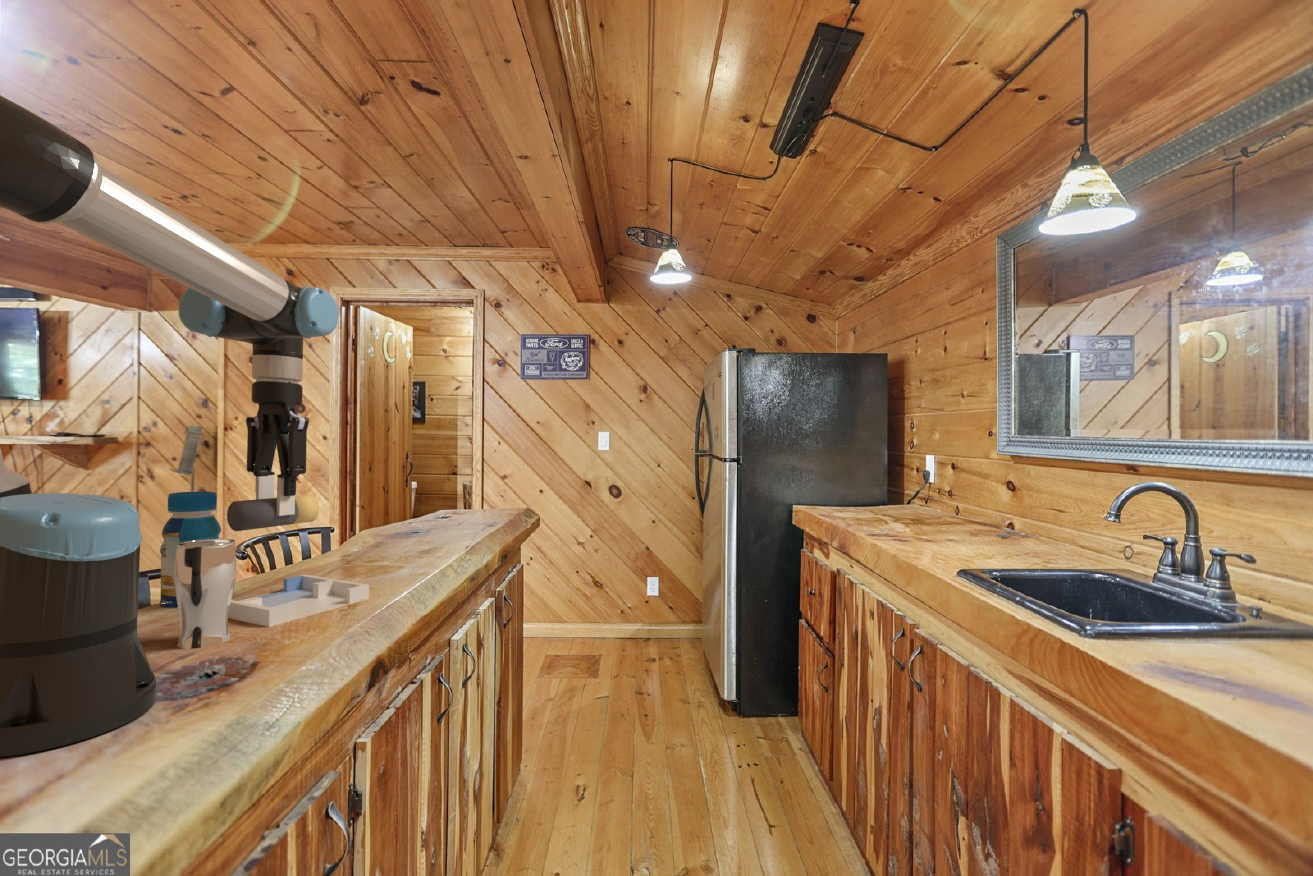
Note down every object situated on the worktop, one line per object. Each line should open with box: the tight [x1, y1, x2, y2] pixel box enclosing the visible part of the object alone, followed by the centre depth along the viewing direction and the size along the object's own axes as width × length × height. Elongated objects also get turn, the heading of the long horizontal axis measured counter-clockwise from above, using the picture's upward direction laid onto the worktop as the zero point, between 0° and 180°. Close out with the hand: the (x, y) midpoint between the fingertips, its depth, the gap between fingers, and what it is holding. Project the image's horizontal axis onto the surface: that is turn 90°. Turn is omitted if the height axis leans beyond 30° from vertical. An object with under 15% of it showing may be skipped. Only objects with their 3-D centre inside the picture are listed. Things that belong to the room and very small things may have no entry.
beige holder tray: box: [228, 574, 370, 628], centre depth 101 cm, size 18×18×4 cm
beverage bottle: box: [159, 490, 222, 609], centre depth 102 cm, size 8×8×20 cm
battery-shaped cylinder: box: [226, 494, 320, 532], centre depth 103 cm, size 13×5×5 cm, turn 157°
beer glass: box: [174, 538, 237, 650], centre depth 82 cm, size 7×7×15 cm
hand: (275, 513), depth 103 cm, fingers closed on battery-shaped cylinder, 5 cm apart
